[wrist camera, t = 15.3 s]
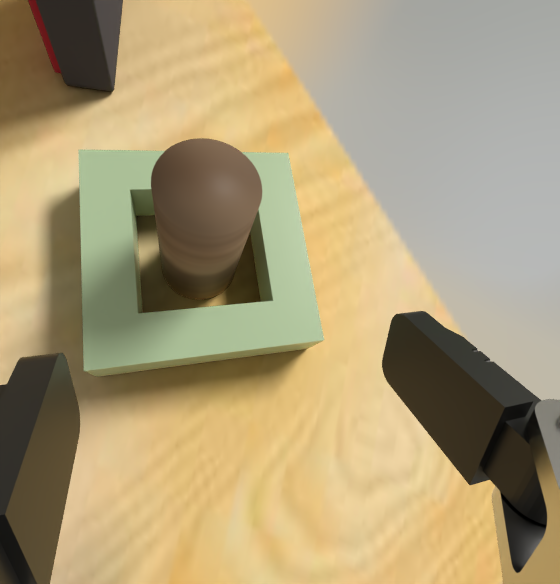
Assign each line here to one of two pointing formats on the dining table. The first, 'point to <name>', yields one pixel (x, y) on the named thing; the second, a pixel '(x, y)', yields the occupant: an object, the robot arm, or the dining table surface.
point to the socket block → (195, 321)
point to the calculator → (81, 39)
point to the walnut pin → (203, 214)
